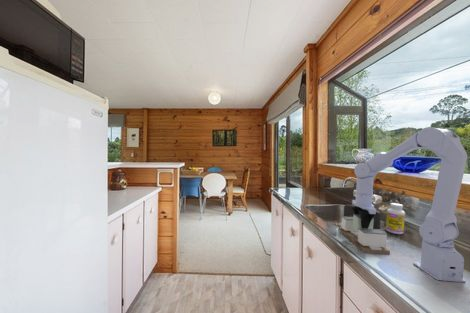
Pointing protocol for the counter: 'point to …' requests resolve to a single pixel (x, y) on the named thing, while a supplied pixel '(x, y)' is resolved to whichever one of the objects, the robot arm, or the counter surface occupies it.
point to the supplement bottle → (395, 219)
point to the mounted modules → (366, 234)
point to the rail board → (368, 249)
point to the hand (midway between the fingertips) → (361, 226)
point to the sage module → (358, 222)
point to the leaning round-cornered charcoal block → (349, 213)
